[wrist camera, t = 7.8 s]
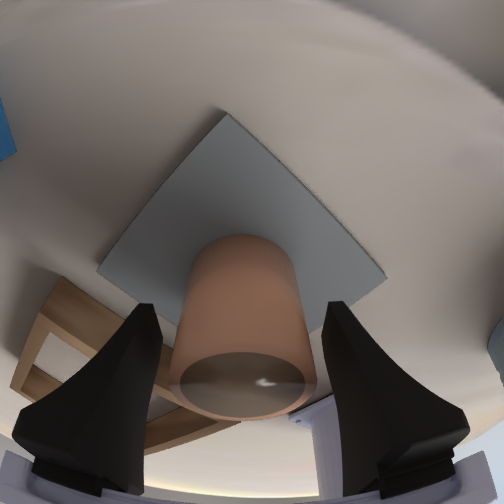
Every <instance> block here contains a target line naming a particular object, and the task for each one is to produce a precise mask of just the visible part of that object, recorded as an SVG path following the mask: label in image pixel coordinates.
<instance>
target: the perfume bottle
mask: <svg viewBox="0 0 504 504" xmlns="http://www.w3.org/2000/svg"><path fill="white" fill-rule="evenodd" d="M15 152H16V148H15V145H14V142H13V139H12V136H11V133H10V130H9V127H8V124H7V120H6V117H5V113H4V110H3V106H2V102H1V99H0V161H2V160H3V159H5V158H6V157H8V156H10V155H11V154H13V153H15Z"/></svg>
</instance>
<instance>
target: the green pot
mask: <svg viewBox="0 0 504 504" xmlns="http://www.w3.org/2000/svg"><path fill="white" fill-rule="evenodd" d="M487 347H488V352H489V355H490V357H491V359H492V361H493V363H494V366H495V368H496V370H497V371H498V372H499V373H500V379H501V382H502V383H503V386H504V316H503V318H502V319H501V320H500V322H499V323H498V324H497V326H496V327H495V329H494V331H493V332H492V334H491V336H490V339H489V342H488V345H487Z"/></svg>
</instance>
